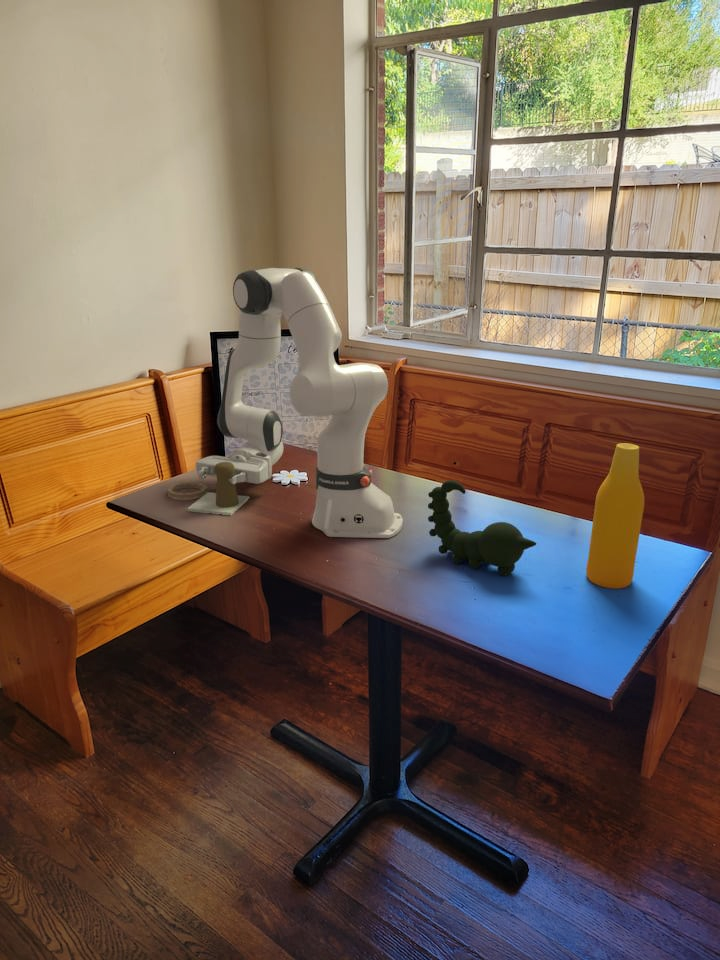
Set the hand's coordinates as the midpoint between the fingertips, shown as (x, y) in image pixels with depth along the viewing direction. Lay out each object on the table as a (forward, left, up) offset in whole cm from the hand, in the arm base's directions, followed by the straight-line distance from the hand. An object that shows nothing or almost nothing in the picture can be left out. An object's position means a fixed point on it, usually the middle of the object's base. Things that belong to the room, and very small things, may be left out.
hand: (215, 478), depth 178 cm
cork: (-3, -1, -7) cm, 8 cm away
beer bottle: (-96, +17, -8) cm, 98 cm away
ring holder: (+12, -7, -8) cm, 16 cm away
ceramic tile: (0, -1, -8) cm, 8 cm away
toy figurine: (-69, +17, -8) cm, 72 cm away
